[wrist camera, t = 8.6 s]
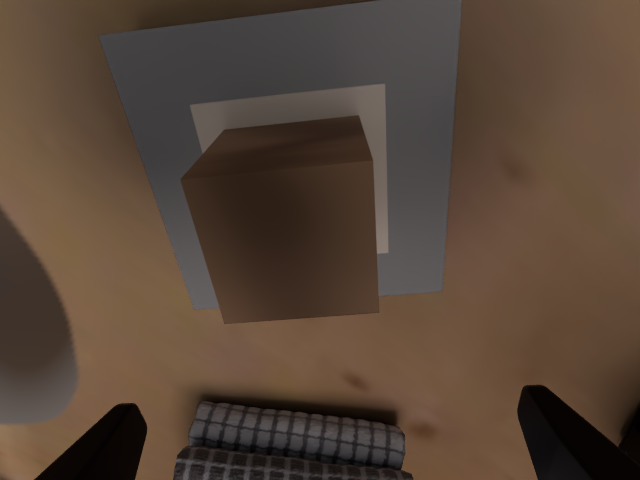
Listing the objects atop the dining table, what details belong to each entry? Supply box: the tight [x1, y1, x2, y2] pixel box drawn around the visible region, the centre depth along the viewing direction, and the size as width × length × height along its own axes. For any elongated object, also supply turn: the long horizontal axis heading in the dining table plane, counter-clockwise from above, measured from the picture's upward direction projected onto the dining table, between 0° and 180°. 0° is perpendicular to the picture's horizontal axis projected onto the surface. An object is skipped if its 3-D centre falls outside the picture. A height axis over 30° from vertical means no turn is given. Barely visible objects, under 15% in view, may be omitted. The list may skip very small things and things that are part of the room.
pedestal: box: [98, 0, 462, 310], centre depth 17 cm, size 12×12×3 cm
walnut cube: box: [180, 115, 379, 324], centre depth 13 cm, size 5×5×5 cm
